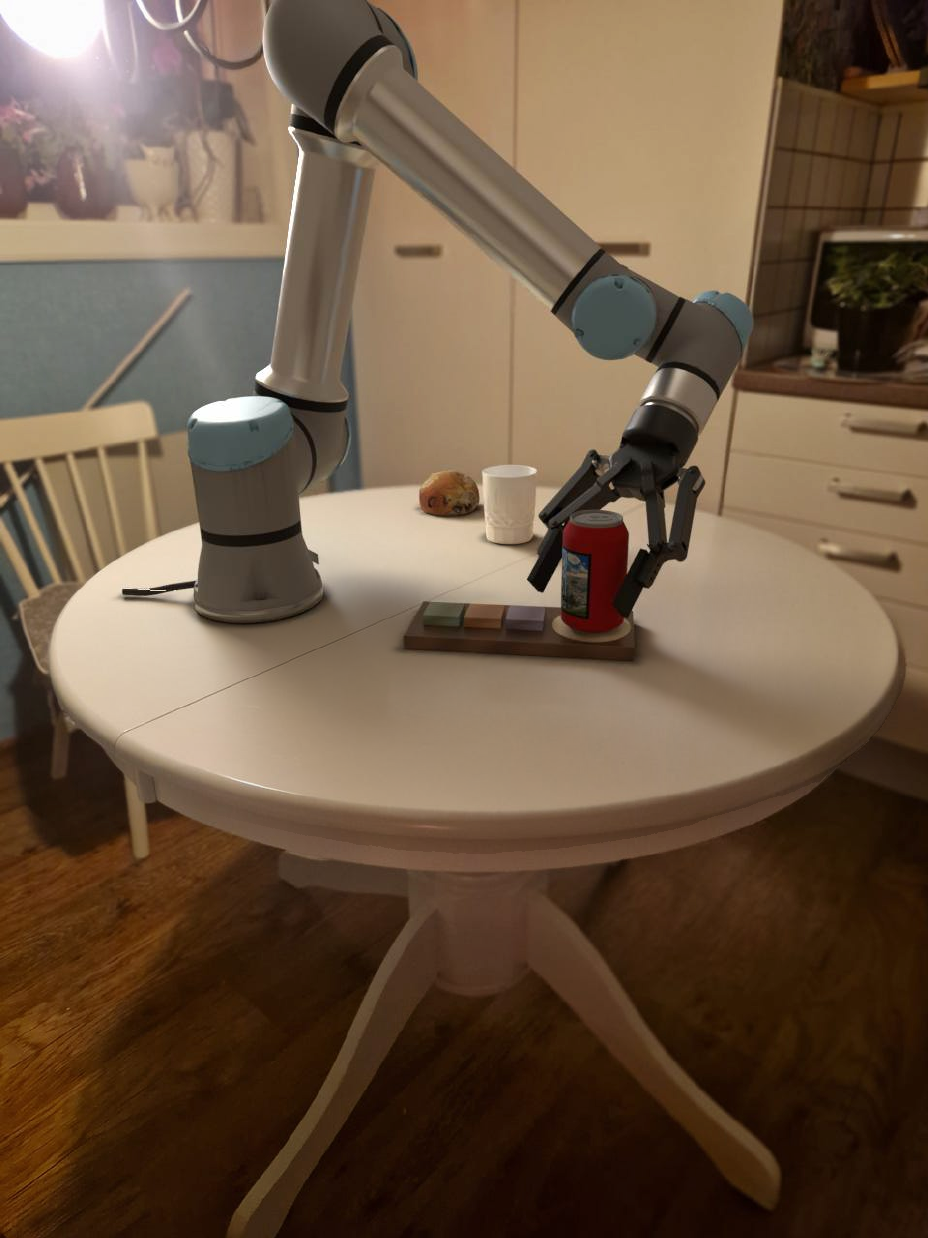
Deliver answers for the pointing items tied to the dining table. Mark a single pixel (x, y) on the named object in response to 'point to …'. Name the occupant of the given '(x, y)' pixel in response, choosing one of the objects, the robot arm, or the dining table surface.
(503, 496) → the white cup
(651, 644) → the dining table surface
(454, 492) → the bread roll
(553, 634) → the paint palette tray
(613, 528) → the beverage can
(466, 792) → the dining table surface
